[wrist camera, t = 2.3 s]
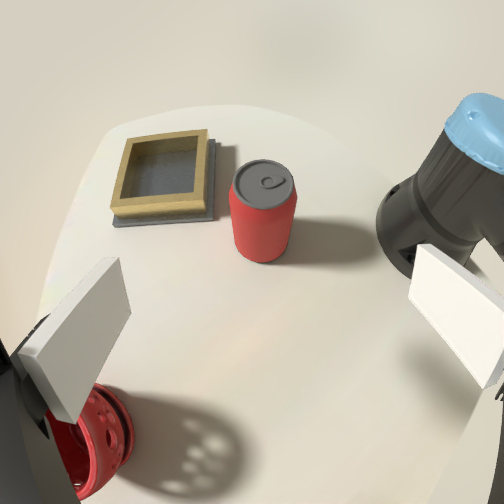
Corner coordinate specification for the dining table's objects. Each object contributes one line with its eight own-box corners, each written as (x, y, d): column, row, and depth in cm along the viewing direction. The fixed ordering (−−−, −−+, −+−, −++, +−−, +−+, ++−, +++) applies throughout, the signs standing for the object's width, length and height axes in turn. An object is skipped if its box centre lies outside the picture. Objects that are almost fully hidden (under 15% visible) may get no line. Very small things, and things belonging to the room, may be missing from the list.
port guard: (215, 142, 44) (213, 124, 41) (213, 220, 39) (209, 205, 35) (131, 151, 44) (123, 135, 41) (114, 227, 39) (103, 213, 35)
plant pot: (43, 400, 29) (-19, 397, 18) (111, 361, 31) (53, 349, 20) (89, 486, 24) (35, 512, 13) (166, 456, 27) (125, 488, 16)
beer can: (294, 256, 37) (310, 203, 26) (242, 270, 36) (236, 221, 25) (278, 211, 39) (285, 149, 28) (229, 223, 38) (219, 163, 27)
